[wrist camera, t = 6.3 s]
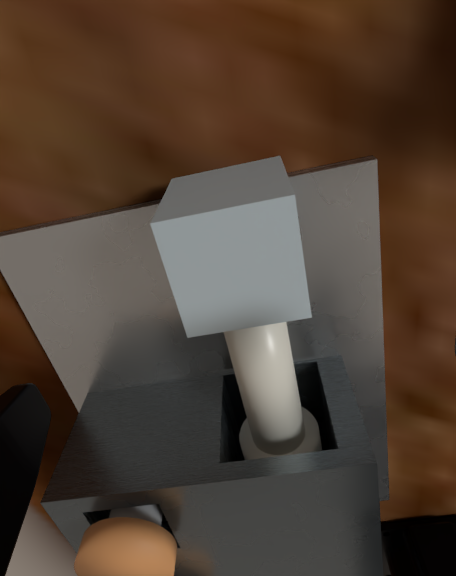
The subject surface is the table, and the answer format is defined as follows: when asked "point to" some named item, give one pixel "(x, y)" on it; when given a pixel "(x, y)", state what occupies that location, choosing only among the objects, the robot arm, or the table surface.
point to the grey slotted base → (215, 389)
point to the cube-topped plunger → (243, 289)
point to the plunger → (127, 545)
